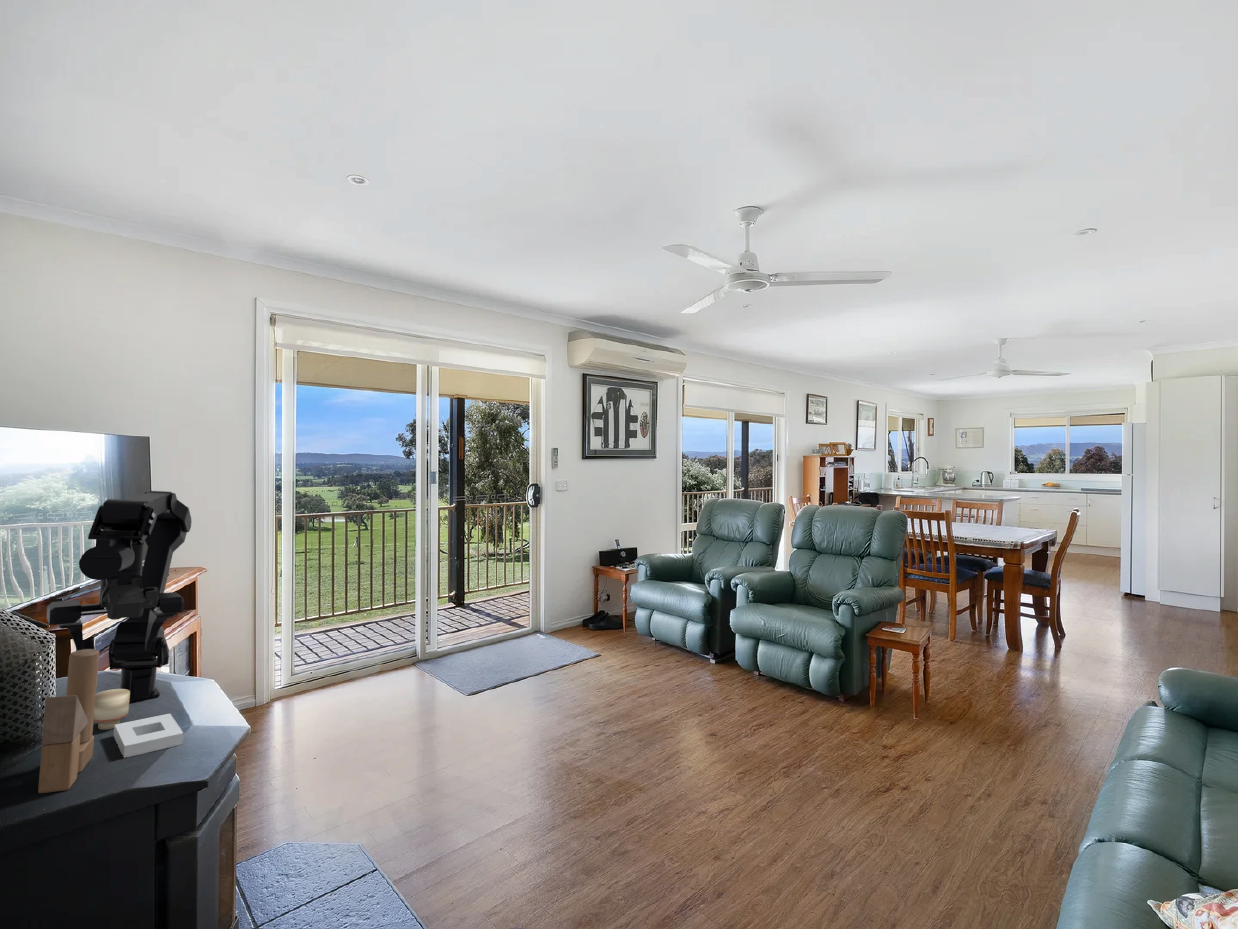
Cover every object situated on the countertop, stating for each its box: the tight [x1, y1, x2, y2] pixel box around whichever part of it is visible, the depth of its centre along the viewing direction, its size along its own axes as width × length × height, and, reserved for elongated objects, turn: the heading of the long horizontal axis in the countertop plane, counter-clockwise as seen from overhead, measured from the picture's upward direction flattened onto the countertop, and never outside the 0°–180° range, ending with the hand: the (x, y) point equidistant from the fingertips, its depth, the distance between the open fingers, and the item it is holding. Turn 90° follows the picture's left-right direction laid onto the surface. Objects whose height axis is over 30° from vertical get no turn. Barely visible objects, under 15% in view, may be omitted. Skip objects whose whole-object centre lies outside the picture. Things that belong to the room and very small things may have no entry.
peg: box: [93, 688, 130, 731], centre depth 109 cm, size 5×5×6 cm
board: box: [113, 713, 184, 759], centre depth 105 cm, size 10×8×2 cm
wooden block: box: [37, 648, 100, 794], centre depth 93 cm, size 4×11×18 cm, turn 27°
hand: (115, 654), depth 109 cm, fingers open, 9 cm apart
